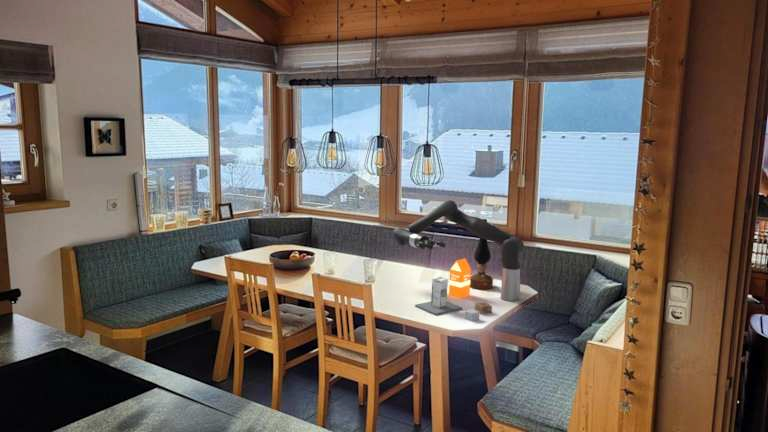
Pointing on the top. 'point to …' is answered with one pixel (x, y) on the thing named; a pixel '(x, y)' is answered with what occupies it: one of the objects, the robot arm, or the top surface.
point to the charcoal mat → (437, 311)
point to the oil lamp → (481, 267)
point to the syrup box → (439, 292)
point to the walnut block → (483, 308)
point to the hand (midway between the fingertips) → (438, 246)
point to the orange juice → (460, 279)
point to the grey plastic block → (471, 315)
